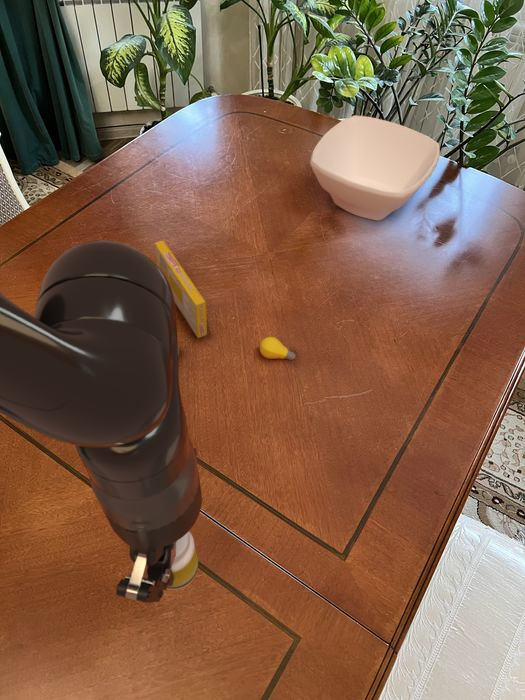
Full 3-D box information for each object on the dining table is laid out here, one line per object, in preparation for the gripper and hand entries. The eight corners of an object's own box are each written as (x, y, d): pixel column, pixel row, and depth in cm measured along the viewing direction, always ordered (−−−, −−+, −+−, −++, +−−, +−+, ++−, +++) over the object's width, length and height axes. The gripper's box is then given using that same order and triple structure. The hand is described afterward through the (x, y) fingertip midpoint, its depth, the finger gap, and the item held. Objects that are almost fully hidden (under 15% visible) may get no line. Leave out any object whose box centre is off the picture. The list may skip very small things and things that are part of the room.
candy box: (209, 334, 95) (206, 301, 88) (197, 339, 94) (193, 306, 87) (169, 273, 103) (163, 238, 96) (158, 277, 102) (151, 242, 96)
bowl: (394, 254, 107) (408, 204, 97) (291, 212, 114) (295, 162, 104) (438, 191, 118) (453, 141, 109) (342, 156, 125) (349, 106, 116)
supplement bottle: (208, 561, 60) (203, 532, 53) (179, 600, 57) (170, 575, 51) (172, 534, 61) (163, 504, 55) (142, 572, 59) (129, 544, 52)
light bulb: (258, 345, 93) (265, 329, 91) (291, 359, 94) (300, 343, 92) (254, 358, 91) (262, 341, 88) (289, 371, 91) (298, 355, 89)
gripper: (133, 390, 47) (158, 478, 61) (58, 563, 38) (107, 621, 52) (222, 408, 46) (227, 493, 60) (165, 590, 38) (186, 641, 51)
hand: (171, 552), depth 56 cm, fingers closed on supplement bottle, 4 cm apart
